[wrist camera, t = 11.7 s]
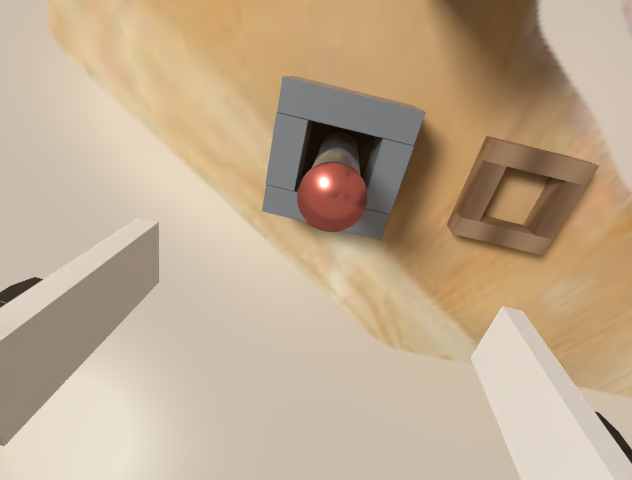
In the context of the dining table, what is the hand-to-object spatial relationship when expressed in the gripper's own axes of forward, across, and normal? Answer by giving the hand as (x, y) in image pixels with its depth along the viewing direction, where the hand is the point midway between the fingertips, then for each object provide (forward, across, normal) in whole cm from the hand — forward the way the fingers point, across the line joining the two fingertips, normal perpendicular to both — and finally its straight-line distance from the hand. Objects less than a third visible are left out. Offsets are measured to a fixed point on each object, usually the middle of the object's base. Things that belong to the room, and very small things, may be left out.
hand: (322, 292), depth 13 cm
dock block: (+25, 0, 0) cm, 25 cm away
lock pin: (+25, 0, 0) cm, 25 cm away
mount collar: (+25, -18, 0) cm, 31 cm away
